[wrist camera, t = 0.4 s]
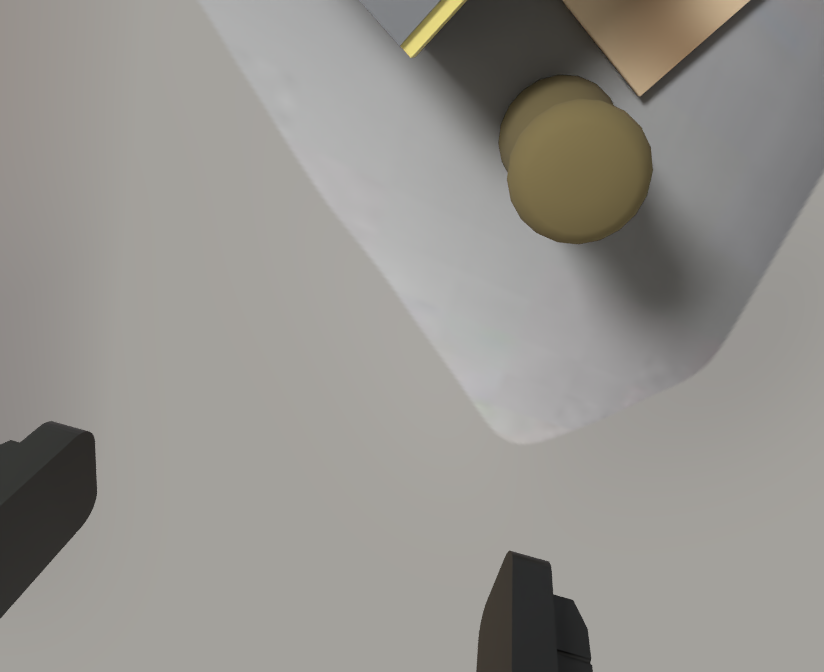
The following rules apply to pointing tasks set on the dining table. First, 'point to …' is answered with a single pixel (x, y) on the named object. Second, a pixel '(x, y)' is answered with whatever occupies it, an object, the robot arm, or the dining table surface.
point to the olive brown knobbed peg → (573, 160)
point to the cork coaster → (650, 32)
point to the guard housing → (412, 19)
